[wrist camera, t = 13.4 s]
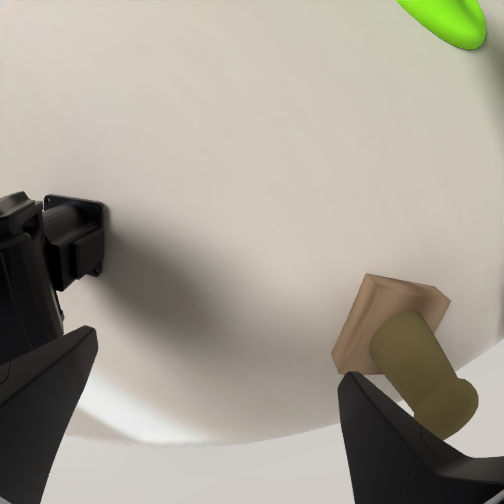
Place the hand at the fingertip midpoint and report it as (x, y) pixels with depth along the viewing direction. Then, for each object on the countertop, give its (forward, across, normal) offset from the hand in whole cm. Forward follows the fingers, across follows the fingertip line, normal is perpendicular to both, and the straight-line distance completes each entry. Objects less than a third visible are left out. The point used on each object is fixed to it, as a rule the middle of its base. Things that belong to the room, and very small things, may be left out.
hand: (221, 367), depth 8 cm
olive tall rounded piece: (+10, -16, +5) cm, 20 cm away
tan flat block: (+13, -16, +5) cm, 21 cm away
